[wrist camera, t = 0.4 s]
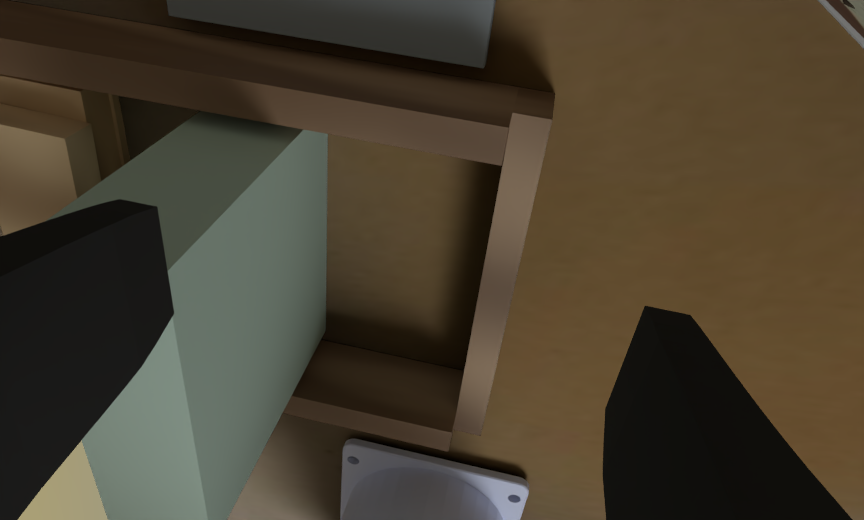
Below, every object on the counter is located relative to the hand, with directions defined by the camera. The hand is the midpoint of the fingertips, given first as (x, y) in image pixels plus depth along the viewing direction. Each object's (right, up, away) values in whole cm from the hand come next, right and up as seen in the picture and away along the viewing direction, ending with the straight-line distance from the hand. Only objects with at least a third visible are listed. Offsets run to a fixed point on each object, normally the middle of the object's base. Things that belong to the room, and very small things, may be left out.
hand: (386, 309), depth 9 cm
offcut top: (-12, +3, +12) cm, 17 cm away
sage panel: (-4, +2, +12) cm, 13 cm away
